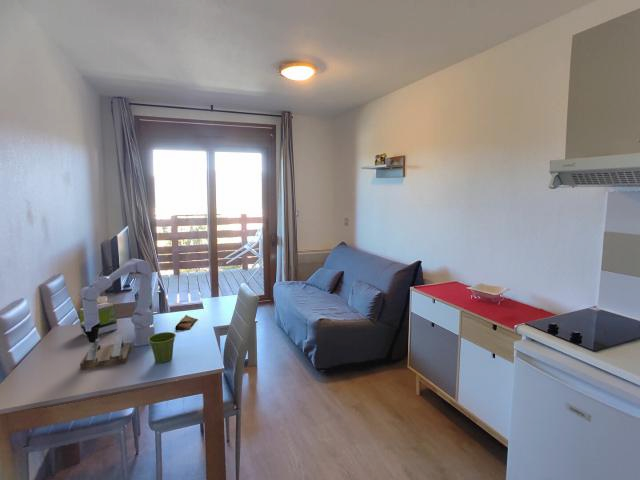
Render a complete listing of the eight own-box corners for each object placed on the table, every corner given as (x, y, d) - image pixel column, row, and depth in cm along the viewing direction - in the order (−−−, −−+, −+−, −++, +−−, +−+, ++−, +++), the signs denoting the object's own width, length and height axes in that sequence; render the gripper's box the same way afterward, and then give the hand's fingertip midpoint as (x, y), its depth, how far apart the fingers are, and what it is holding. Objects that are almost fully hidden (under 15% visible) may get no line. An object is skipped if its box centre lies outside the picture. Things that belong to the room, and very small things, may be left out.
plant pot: (150, 357, 171) (148, 334, 170) (176, 352, 176) (175, 330, 174) (149, 368, 160) (147, 344, 159) (177, 363, 165) (176, 339, 164)
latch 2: (123, 336, 175) (122, 334, 175) (119, 356, 165) (119, 355, 165) (116, 336, 174) (115, 335, 174) (112, 357, 164) (112, 356, 164)
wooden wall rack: (131, 347, 182) (131, 338, 182) (126, 362, 165) (125, 353, 165) (90, 352, 176) (89, 343, 175) (80, 369, 159) (79, 359, 159)
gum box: (145, 322, 218) (142, 285, 214) (154, 321, 219) (151, 284, 216) (136, 334, 199) (133, 294, 196) (146, 333, 200) (143, 293, 197)
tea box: (109, 325, 212) (107, 301, 210) (117, 329, 206) (115, 304, 204) (80, 333, 200) (78, 308, 198) (88, 338, 194) (86, 311, 192)
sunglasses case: (190, 330, 204) (183, 320, 203) (180, 336, 204) (173, 327, 203) (198, 319, 222) (192, 310, 221) (189, 325, 222) (182, 316, 221)
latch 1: (99, 339, 172) (99, 337, 171) (94, 360, 162) (94, 359, 161) (92, 339, 171) (91, 338, 170) (87, 361, 161) (86, 360, 160)
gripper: (84, 308, 171) (87, 336, 173) (76, 318, 157) (79, 348, 159) (101, 307, 173) (104, 334, 175) (94, 316, 160) (97, 346, 162)
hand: (93, 340), depth 167 cm, fingers open, 3 cm apart
